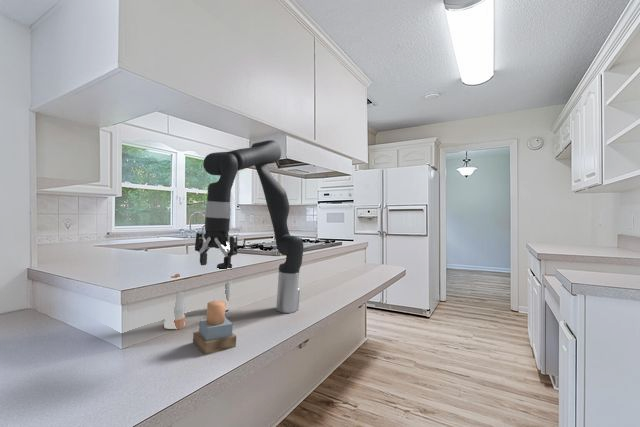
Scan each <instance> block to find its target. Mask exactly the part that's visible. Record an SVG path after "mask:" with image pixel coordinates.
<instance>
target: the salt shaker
mask: <svg viewBox="0 0 640 427" xmlns="http://www.w3.org/2000/svg"><path fill="white" fill-rule="evenodd" d="M180 275H181V274H180V273H175V275H171V276H170V277H171V278H177V277H180ZM184 299H185V292H179V293H177V294H176V302H175V307H174V314H175V315H174V316H175V320H174V323H175V326H176V328H177V329H176V330H175V331H177V330H181V329H183V328H185V327H184V322H185V323H186V320H185V317H184V312H185V313H186V301H185V302H184Z"/></svg>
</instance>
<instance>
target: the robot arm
mask: <svg viewBox="0 0 640 427" xmlns="http://www.w3.org/2000/svg"><path fill="white" fill-rule="evenodd" d="M281 149H282V148H281V147H280V144H279V143H278V142H277V141H276V140H272V139H271V140H270V139H268V140H265V141H259V142H254V143H253V144H251V147H246V148H245V147H244V148H238V149H237V148H236V149H233V150H230V151H220V152H216V151H215V152H211V153H208V154H207V155H206V156H205V158H204V159H203V162H202V164H203V165H202V166H203V169H204V171H205V172H206V173H207V174H209V175H211V176H219V179H218V181H215V182H211V183H209V184H208V185H207V198H206V204H205V205H206V206H205V217H204V230H205V231H203V232H197V233H196V234H195V235H196V236H195V242H194V243H195V244H194V251H195V252H198V253H199V263H200V265H201V266H206V265H207V264H208V252H209V250H210V249H212V248H214V249H219V251H221V253H223V256H224V257H223V263H224V264H223V268H224V269H227V268H229V267H230V265H231V264H232V257H233V256H235V255H236V256H237V255H238V236H237V235H233V236H230V235H229V232H230V225H231V223H230V222H231V193H232V192H231V191H232V187H233V185H234V182H235V178H236V177H237V175H238V172H239V171H242V170H246V169H248V168H251V167H255V170H256V172H257V175H258V178H259V181H260V183H261V187H262V190H263V195H264V198H265V203H266V206H267V211H268V212H269V216H270V220H271V225H272V227H273V228H272V229H273V233H274V240H275V245H276V250H277V251H278V253H279V254H281V255H282V256H286V257H285V260H284V262H283V263H280V264H279V266H278V276H277V278H278V279H277V290H276V307H275V310H276V311H277V312H279V313H285V314H288V313H289V314H291V313H294V312H295V313H296V312H297V311H299V310H300V309H299V308H300V297H301V296H300V295H301V294H300V293H301V289H300V288H299V286H300V284H299V283H300V282H299V281H300V269H301V266H302V263H303V256H304V242H303V240H302V238H301V237H299V236H296V235H291V233H290V231H289V227H288V217H289V214H290V202H289V199H288V198H289V197H288V195H287V191H286V190H285V188H284V187H283V186H282V185H281V184H280V183H279V181H277V179H275V178H274V176H273V175H272V173H271V172H270V169H269V167H268V166H269V165H270V164H275V163H277V162H279V161H280V159H281V156H282V150H281ZM204 232H205V233H204Z"/></svg>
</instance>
